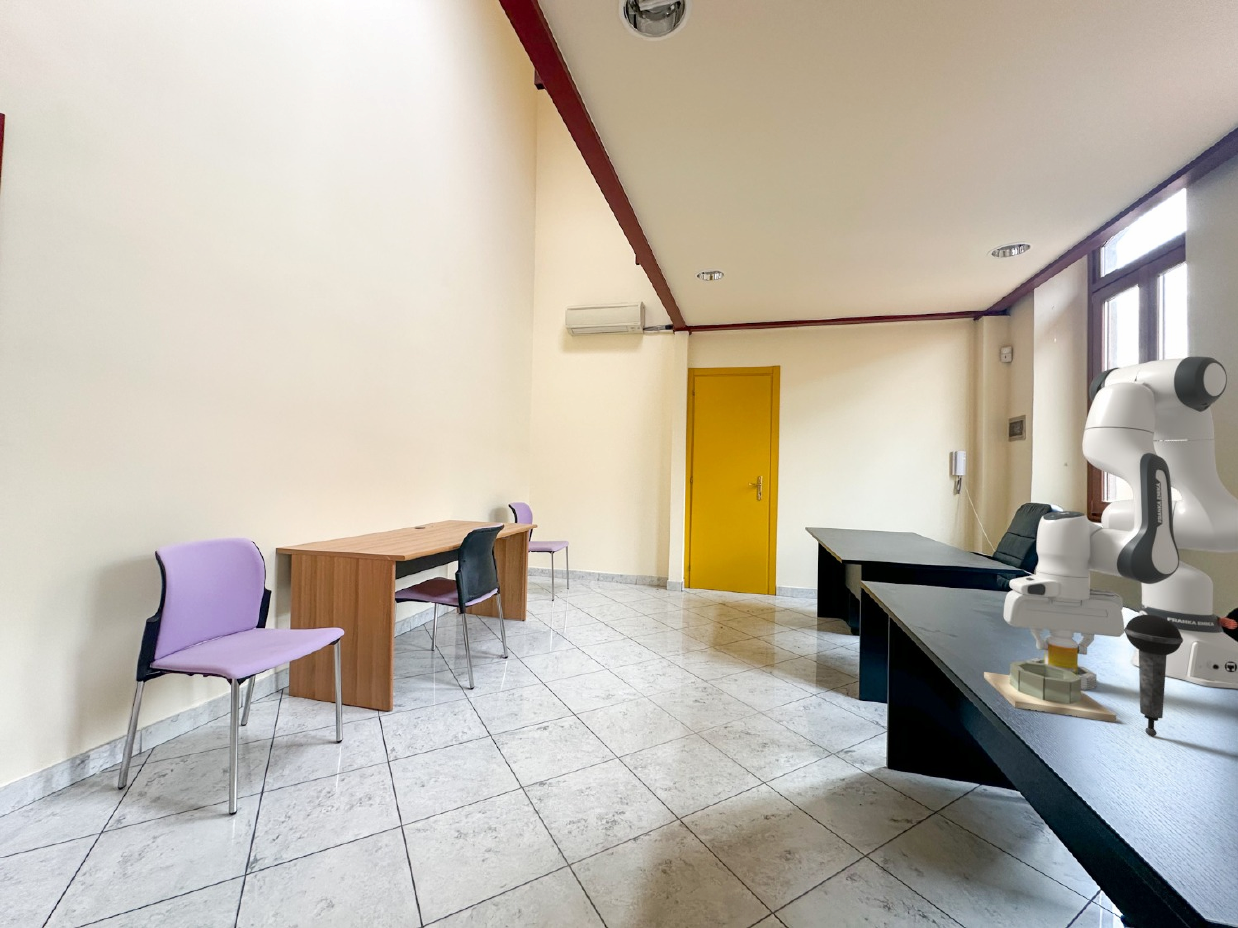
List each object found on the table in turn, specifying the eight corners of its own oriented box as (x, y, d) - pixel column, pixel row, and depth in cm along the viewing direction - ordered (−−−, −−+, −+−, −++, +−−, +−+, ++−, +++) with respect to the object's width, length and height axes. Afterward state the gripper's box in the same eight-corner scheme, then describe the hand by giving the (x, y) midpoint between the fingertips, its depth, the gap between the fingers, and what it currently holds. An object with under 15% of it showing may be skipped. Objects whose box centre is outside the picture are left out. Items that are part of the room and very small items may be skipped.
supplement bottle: (1083, 679, 107) (1084, 633, 107) (1053, 677, 108) (1054, 630, 108) (1067, 670, 112) (1067, 625, 113) (1038, 667, 114) (1039, 623, 114)
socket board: (1069, 688, 105) (1070, 663, 105) (1116, 722, 90) (1116, 692, 90) (984, 677, 109) (984, 652, 109) (1015, 707, 95) (1015, 679, 95)
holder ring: (1076, 673, 113) (1076, 662, 113) (1105, 692, 103) (1105, 679, 103) (1020, 666, 116) (1020, 655, 117) (1043, 684, 107) (1043, 672, 107)
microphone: (1188, 751, 81) (1191, 623, 81) (1128, 737, 85) (1131, 615, 85) (1172, 733, 87) (1174, 614, 87) (1116, 721, 90) (1119, 607, 91)
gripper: (1113, 588, 110) (1112, 652, 110) (1001, 579, 117) (1000, 640, 117) (1132, 594, 104) (1131, 663, 104) (1012, 585, 111) (1011, 649, 111)
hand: (1061, 651), depth 110 cm, fingers closed on supplement bottle, 5 cm apart
